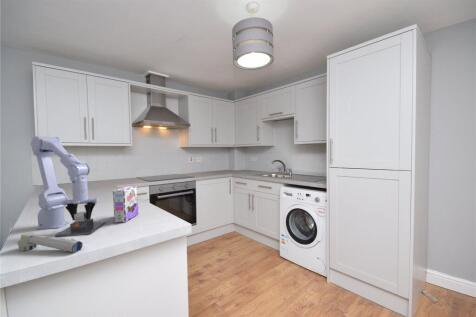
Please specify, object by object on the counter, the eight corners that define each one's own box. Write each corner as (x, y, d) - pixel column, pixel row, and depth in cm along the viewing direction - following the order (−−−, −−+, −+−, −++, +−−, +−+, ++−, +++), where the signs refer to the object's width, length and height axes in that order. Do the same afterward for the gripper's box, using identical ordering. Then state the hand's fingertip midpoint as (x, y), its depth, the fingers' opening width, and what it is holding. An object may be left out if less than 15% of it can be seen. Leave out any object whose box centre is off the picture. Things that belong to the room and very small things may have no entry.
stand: (55, 237, 92) (54, 227, 92) (75, 225, 106) (74, 217, 105) (90, 234, 94) (90, 225, 94) (105, 223, 108) (105, 215, 107)
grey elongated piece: (71, 244, 75) (13, 232, 79) (70, 262, 75) (12, 249, 79) (84, 238, 80) (29, 227, 84) (83, 255, 81) (28, 243, 85)
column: (74, 229, 97) (73, 214, 97) (80, 226, 101) (79, 211, 101) (84, 228, 98) (83, 213, 98) (89, 225, 102) (88, 211, 102)
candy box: (125, 222, 108) (123, 190, 107) (114, 223, 108) (112, 190, 107) (138, 214, 121) (137, 185, 121) (128, 214, 122) (127, 185, 121)
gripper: (56, 192, 94) (58, 223, 94) (92, 190, 96) (94, 220, 97) (66, 189, 101) (68, 218, 101) (100, 188, 103) (102, 216, 103)
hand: (81, 219), depth 99 cm, fingers open, 5 cm apart
